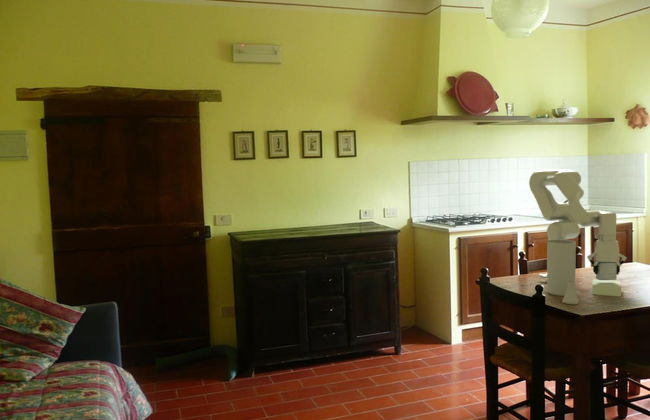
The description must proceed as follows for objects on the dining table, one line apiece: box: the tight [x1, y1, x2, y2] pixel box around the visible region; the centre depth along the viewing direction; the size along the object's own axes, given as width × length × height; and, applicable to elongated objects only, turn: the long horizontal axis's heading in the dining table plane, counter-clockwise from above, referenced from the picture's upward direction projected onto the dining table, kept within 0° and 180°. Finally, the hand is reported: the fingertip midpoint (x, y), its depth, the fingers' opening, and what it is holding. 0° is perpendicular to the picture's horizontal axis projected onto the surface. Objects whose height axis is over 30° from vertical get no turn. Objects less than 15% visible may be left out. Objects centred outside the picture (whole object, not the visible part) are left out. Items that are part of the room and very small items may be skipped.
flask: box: [561, 280, 580, 305], centre depth 253 cm, size 7×7×10 cm
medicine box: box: [595, 262, 618, 281], centre depth 270 cm, size 8×4×9 cm, turn 91°
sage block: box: [592, 279, 622, 297], centre depth 271 cm, size 12×12×5 cm
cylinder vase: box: [546, 239, 577, 297], centre depth 270 cm, size 12×12×25 cm
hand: (606, 273), depth 270 cm, fingers closed on medicine box, 8 cm apart
